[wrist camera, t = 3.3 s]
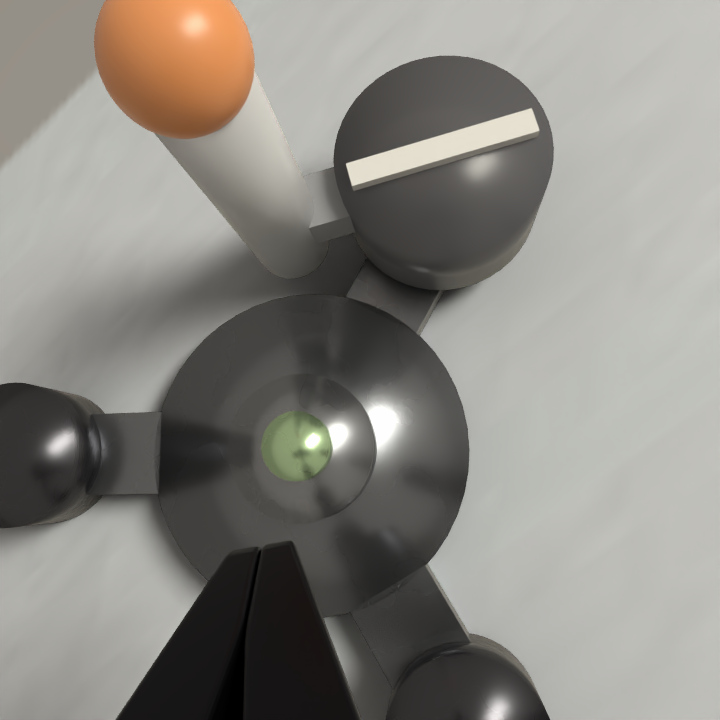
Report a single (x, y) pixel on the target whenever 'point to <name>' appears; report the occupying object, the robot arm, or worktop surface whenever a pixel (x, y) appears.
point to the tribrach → (297, 475)
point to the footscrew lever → (337, 148)
